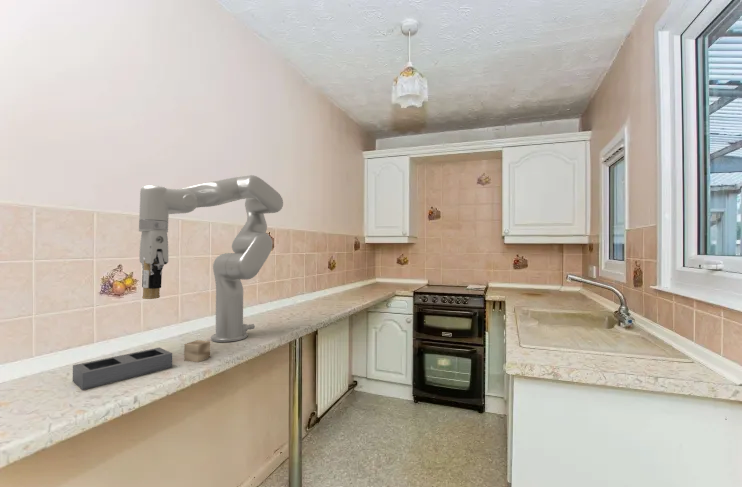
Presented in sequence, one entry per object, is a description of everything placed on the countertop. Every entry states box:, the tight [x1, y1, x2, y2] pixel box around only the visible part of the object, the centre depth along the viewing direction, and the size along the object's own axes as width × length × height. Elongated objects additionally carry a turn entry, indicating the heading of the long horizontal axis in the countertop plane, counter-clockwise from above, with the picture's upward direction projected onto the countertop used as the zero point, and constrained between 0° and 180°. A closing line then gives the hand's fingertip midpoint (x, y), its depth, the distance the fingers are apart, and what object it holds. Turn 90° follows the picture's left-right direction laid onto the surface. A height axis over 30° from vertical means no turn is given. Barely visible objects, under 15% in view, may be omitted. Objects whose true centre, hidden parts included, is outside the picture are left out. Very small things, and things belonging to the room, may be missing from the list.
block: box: [183, 339, 211, 363], centre depth 106 cm, size 5×5×5 cm
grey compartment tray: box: [72, 347, 173, 391], centre depth 93 cm, size 20×9×4 cm, turn 142°
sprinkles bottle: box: [142, 258, 161, 300], centre depth 105 cm, size 5×5×14 cm
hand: (151, 287), depth 105 cm, fingers closed on sprinkles bottle, 4 cm apart
